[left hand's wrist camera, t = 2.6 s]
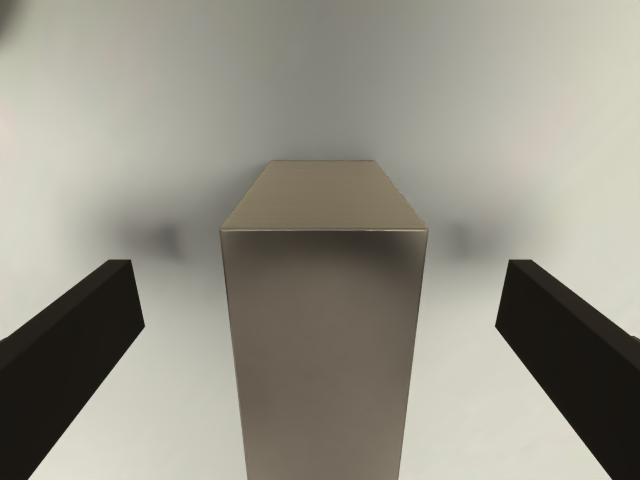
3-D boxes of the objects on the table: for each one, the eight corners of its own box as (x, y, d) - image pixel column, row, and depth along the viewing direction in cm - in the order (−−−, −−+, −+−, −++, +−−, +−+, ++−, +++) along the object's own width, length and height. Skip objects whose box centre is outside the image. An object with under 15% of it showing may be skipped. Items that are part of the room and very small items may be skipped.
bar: (269, 160, 16) (218, 228, 8) (375, 160, 16) (429, 228, 8) (288, 518, 25) (273, 713, 17) (354, 519, 25) (370, 713, 17)
